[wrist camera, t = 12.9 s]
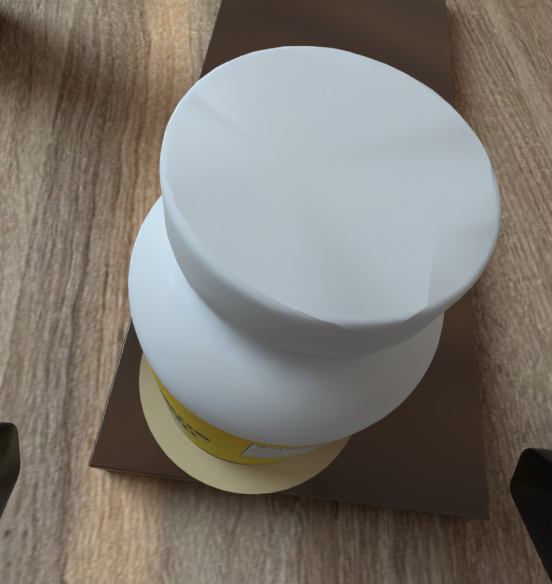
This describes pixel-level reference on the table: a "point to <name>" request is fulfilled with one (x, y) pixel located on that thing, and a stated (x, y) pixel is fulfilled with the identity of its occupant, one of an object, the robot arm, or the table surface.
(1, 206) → the table surface
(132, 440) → the walnut board
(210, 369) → the pill bottle
